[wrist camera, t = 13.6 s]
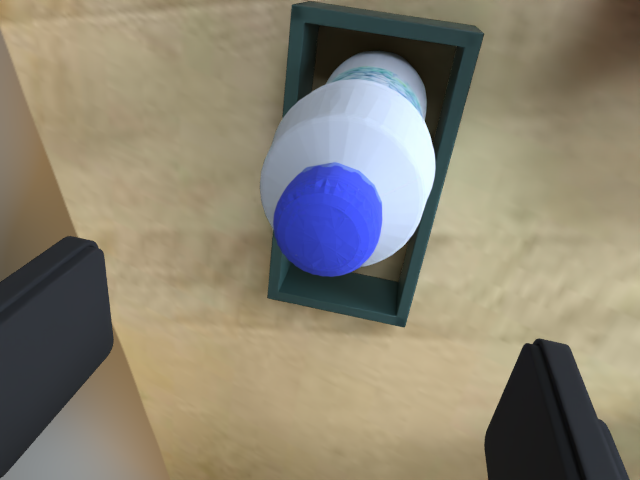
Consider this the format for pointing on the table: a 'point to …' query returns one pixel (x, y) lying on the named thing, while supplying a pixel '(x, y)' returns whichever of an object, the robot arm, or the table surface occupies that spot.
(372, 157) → the bottle
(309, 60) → the tray
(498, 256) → the table surface
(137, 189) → the table surface
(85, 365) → the robot arm
